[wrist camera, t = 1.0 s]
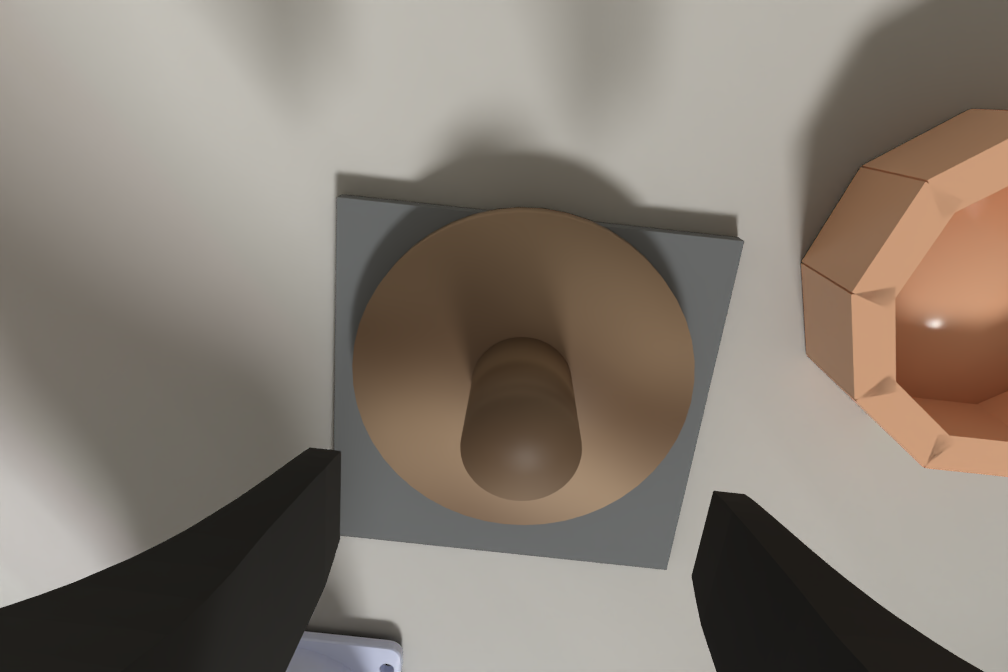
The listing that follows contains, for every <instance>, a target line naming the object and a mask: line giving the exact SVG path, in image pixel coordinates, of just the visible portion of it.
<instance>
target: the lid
mask: <svg viewBox="0 0 1008 672" xmlns="http://www.w3.org/2000/svg"><path fill="white" fill-rule="evenodd" d="M694 368H695V360H694V353H693V345H692V339H691V336H690V332H689V329H688V325H687V322H686V319H685V317H684V314H683V312H682V310H681V308H680V306H679V303H678V301H677V299H676V298H675V296H674V294H673V293H672V291H671V290H670V288H669V287H668V285H667V284H666V282H665V281H664V279H663V278H662V276H661V275H660V274H659V272H658V271H657V270H656V269H655V268H654V267H653V265H652V264H651V263H650V262H649V261H648V260H647V258H646V257H645V256H644V255H643V254H641V253H640V252H639V251H638V250H637V249H636V248H634V247H633V246H632V245H631V244H630V243H629V242H628V241H626V240H624V239H623V238H621V237H620V236H618V235H617V234H615V233H614V232H612V231H611V230H609V229H607V228H605V227H603V226H601V225H599V224H597V223H594V222H592V221H590V220H588V219H585V218H582V217H579V216H576V215H573V214H569V213H566V212H561V211H555V210H550V209H544V208H526V207H516V208H504V209H495V210H490V211H486V212H481V213H477V214H472V215H470V216H467V217H464V218H462V219H459V220H456V221H453V222H451V223H449V224H447V225H445V226H443V227H441V228H439V229H438V230H436V231H434V232H432V233H430V234H429V235H428V236H426V237H425V238H423V239H422V240H421V241H419V242H418V243H416V244H415V245H414V246H412V247H411V248H410V249H409V250H408V251H407V252H406V253H405V254H404V255H403V256H402V257H401V258H400V259H399V260H398V261H397V262H396V263H395V264H394V266H393V267H392V268H391V270H390V271H389V272H388V273H387V275H386V276H385V277H384V278H383V280H382V281H381V282H380V284H379V285H378V287H377V288H376V290H375V292H374V293H373V295H372V297H371V299H370V300H369V302H368V304H367V306H366V308H365V311H364V313H363V316H362V318H361V321H360V323H359V327H358V331H357V335H356V339H355V343H354V351H353V362H352V371H353V387H354V392H355V397H356V402H357V406H358V409H359V412H360V415H361V418H362V421H363V424H364V426H365V428H366V430H367V432H368V434H369V436H370V438H371V440H372V442H373V444H374V445H375V446H376V448H377V449H378V451H379V452H380V454H381V455H382V457H383V458H384V460H385V461H386V462H387V463H388V464H389V465H390V466H391V468H392V469H393V470H394V471H395V472H396V473H397V474H398V475H399V476H400V477H401V478H402V479H403V480H405V481H406V482H407V483H408V484H409V485H410V486H411V487H413V488H414V489H416V490H417V491H418V492H420V493H421V494H423V495H424V496H425V497H427V498H428V499H430V500H432V501H434V502H436V503H438V504H440V505H441V506H443V507H445V508H447V509H450V510H452V511H455V512H457V513H460V514H462V515H465V516H469V517H472V518H476V519H479V520H483V521H488V522H494V523H500V524H511V525H537V524H548V523H554V522H560V521H566V520H569V519H573V518H576V517H580V516H583V515H586V514H589V513H591V512H594V511H596V510H598V509H601V508H603V507H605V506H607V505H609V504H611V503H612V502H614V501H616V500H618V499H620V498H621V497H623V496H624V495H626V494H627V493H628V492H630V491H631V490H633V489H634V488H635V487H637V486H638V485H639V484H640V483H641V482H642V481H644V480H645V479H646V478H647V477H648V476H649V475H650V474H651V473H652V472H653V471H654V470H655V469H656V468H657V466H658V465H659V464H660V463H661V462H662V460H663V459H664V458H665V457H666V455H667V454H668V452H669V451H670V449H671V448H672V446H673V445H674V443H675V441H676V440H677V438H678V436H679V433H680V431H681V429H682V427H683V425H684V423H685V420H686V417H687V414H688V410H689V407H690V404H691V400H692V393H693V387H694Z"/></svg>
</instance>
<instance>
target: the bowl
mask: <svg viewBox="0 0 1008 672" xmlns="http://www.w3.org/2000/svg"><path fill="white" fill-rule="evenodd" d="M862 166H863V168H862V167H860V169H859V170H858V172H857V173H856V175H855V177H854V178H853V180H852V181H851V183H850V185H849V186H848V188H847V189H846V191H845V193H844V194H843V196H842V197H841V199H840V201H839V202H838V204H837V205H836V207H835V209H834V210H833V212H832V213H831V215H830V217H829V218H828V220H827V221H826V223H825V225H824V226H823V228H822V229H821V231H820V233H819V234H818V236H817V237H816V239H815V241H814V242H813V244H812V245H811V247H810V249H809V250H808V252H807V253H806V255H805V257H804V258H803V260H802V262H803V263H801V272H802V289H803V305H804V322H805V339H806V354H807V355H808V357H809V358H810V359H811V360H812V361H813V362H814V363H815V364H816V365H817V366H818V367H819V368H820V369H821V370H822V371H823V372H824V373H825V374H826V375H827V376H828V377H829V378H830V379H831V380H832V381H833V382H835V383H836V384H837V385H838V386H839V387H840V388H841V389H842V390H843V391H844V392H845V393H846V394H847V395H848V396H849V397H850V398H851V399H852V400H853V401H854V402H855V403H856V404H857V405H858V406H859V407H860V408H861V409H862V410H863V411H864V412H865V413H866V414H868V415H869V416H870V417H871V418H872V419H873V420H874V421H875V422H876V423H877V424H878V425H879V426H880V427H881V428H882V429H883V430H884V431H885V432H887V433H888V434H889V435H890V436H891V437H892V438H893V439H894V440H895V441H896V442H897V443H898V444H899V445H900V446H901V447H902V448H903V449H904V450H906V451H907V452H908V453H909V454H910V455H911V456H912V457H913V458H914V459H915V460H916V461H917V462H918V463H919V464H920V465H921V466H922V467H924V468H929V469H939V470H948V471H957V472H967V473H976V474H986V475H995V476H1004V477H1008V110H991V109H969V110H967V111H965V112H963V113H961V114H959V115H957V116H955V117H953V118H952V119H950V120H948V121H946V122H944V123H942V124H940V125H938V126H936V127H934V128H933V129H931V130H929V131H927V132H925V133H923V134H921V135H919V136H917V137H915V138H914V139H912V140H910V141H908V142H906V143H904V144H902V145H900V146H898V147H896V148H895V149H893V150H891V151H889V152H887V153H885V154H883V155H881V156H879V157H877V158H876V159H874V160H872V161H870V162H868V163H866V164H864V165H862Z"/></svg>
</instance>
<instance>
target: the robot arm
mask: <svg viewBox="0 0 1008 672" xmlns="http://www.w3.org/2000/svg"><path fill="white" fill-rule="evenodd" d="M340 501H341V451H336V450H327V449H317V448H309V449H307V450H306V451H304V452H303V453H301V454H300V455H298V456H297V457H296V458H294V459H293V460H291V461H290V462H289V463H287V464H286V465H284V466H283V467H282V468H280V469H279V470H278V471H276V472H275V473H273V474H272V475H271V476H269V477H268V478H266V479H265V480H263V481H262V482H261V483H259V484H258V485H256V486H255V487H253V488H252V489H250V490H249V491H248V492H246V493H245V494H243V495H242V496H240V497H239V498H237V499H236V500H234V501H233V502H231V503H229V504H228V505H226V506H225V507H223V508H221V509H220V510H218V511H216V512H215V513H213V514H212V515H210V516H208V517H207V518H205V519H204V520H202V521H200V522H199V523H197V524H196V525H194V526H192V527H190V528H189V529H187V530H185V531H183V532H181V533H180V534H178V535H176V536H174V537H172V538H170V539H169V540H167V541H165V542H163V543H161V544H159V545H157V546H155V547H153V548H151V549H149V550H147V551H145V552H143V553H141V554H139V555H137V556H134V557H132V558H130V559H128V560H125V561H123V562H121V563H118V564H116V565H114V566H111V567H109V568H107V569H104V570H102V571H100V572H97V573H95V574H93V575H90V576H88V577H86V578H83V579H81V580H79V581H76V582H74V583H71V584H68V585H66V586H63V587H60V588H58V589H55V590H52V591H49V592H47V593H44V594H41V595H38V596H35V597H32V598H29V599H26V600H23V601H20V602H18V603H15V604H12V605H9V606H6V607H2V608H0V672H402V663H403V649H402V647H401V646H400V644H398V643H397V642H395V641H391V640H384V639H374V638H364V637H355V636H345V635H336V634H326V633H316V632H307V631H305V629H306V627H307V625H308V622H309V620H310V618H311V616H312V614H313V612H314V609H315V607H316V605H317V603H318V601H319V598H320V596H321V594H322V592H323V589H324V587H325V585H326V582H327V579H328V575H329V572H330V569H331V566H332V563H333V560H334V557H335V553H336V550H337V547H338V543H339V540H340ZM692 581H693V586H694V592H695V597H696V603H697V608H698V612H699V617H700V622H701V626H702V629H703V632H704V635H705V639H706V642H707V645H708V648H709V651H710V653H711V656H712V659H713V662H714V665H715V668H716V671H717V672H983V671H982V670H980V669H978V668H977V667H975V666H973V665H971V664H970V663H968V662H966V661H965V660H963V659H961V658H959V657H958V656H956V655H954V654H953V653H951V652H950V651H948V650H946V649H945V648H943V647H942V646H940V645H938V644H937V643H935V642H934V641H932V640H931V639H929V638H928V637H926V636H925V635H923V634H922V633H920V632H919V631H917V630H916V629H914V628H913V627H911V626H910V625H908V624H907V623H905V622H904V621H902V620H901V619H899V618H898V617H896V616H895V615H894V614H892V613H891V612H889V611H888V610H887V609H885V608H884V607H882V606H881V605H880V604H878V603H877V602H876V601H874V600H873V599H872V598H870V597H869V596H868V595H866V594H865V593H864V592H863V591H861V590H860V589H859V588H857V587H856V586H855V585H853V584H852V583H851V582H850V581H848V580H847V579H846V578H844V577H843V576H842V575H841V574H840V573H838V572H837V571H836V570H835V569H833V568H832V567H831V566H830V565H828V564H827V563H826V562H825V561H824V560H822V559H821V558H820V557H819V556H818V555H817V554H815V553H814V552H813V551H812V550H811V549H809V548H808V547H807V546H806V545H805V544H804V543H802V542H801V541H800V540H799V539H798V538H797V537H796V536H794V535H793V534H792V533H791V532H790V531H789V530H787V529H786V528H785V527H784V526H783V525H782V524H781V523H779V522H778V521H777V520H776V519H775V518H774V517H773V516H771V515H770V514H769V513H768V512H767V511H766V510H764V509H763V508H762V507H761V506H760V505H758V504H757V503H756V502H755V501H753V500H752V499H751V498H749V497H748V496H747V495H745V494H738V493H728V492H719V491H713V495H712V499H711V503H710V506H709V510H708V514H707V518H706V522H705V526H704V530H703V534H702V538H701V542H700V545H699V549H698V553H697V557H696V561H695V565H694V569H693V573H692ZM385 664H390V665H391V666H387V665H385Z"/></svg>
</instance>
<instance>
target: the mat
mask: <svg viewBox="0 0 1008 672" xmlns="http://www.w3.org/2000/svg"><path fill="white" fill-rule="evenodd" d="M486 211H490V210H481V209H472V208H462V207H453V206H444V205H435V204H425V203H416V202H407V201H398V200H388V199H379V198H370V197H361V196H352V195H340V196H338V197H337V224H336V314H335V404H334V450H336V451H341V501H340V536H349V537H359V538H368V539H378V540H387V541H397V542H406V543H416V544H425V545H435V546H444V547H454V548H463V549H473V550H482V551H492V552H501V553H511V554H520V555H530V556H539V557H549V558H558V559H568V560H577V561H587V562H596V563H606V564H615V565H625V566H634V567H644V568H653V569H663V570H667V565H668V561H669V557H670V553H671V548H672V544H673V540H674V536H675V531H676V527H677V523H678V519H679V515H680V510H681V506H682V502H683V498H684V493H685V489H686V485H687V481H688V476H689V472H690V468H691V464H692V460H693V455H694V451H695V447H696V443H697V438H698V434H699V430H700V426H701V421H702V417H703V413H704V409H705V405H706V400H707V396H708V392H709V388H710V383H711V379H712V375H713V371H714V366H715V362H716V358H717V354H718V350H719V345H720V341H721V337H722V333H723V328H724V324H725V320H726V316H727V311H728V307H729V303H730V299H731V295H732V290H733V286H734V282H735V278H736V273H737V269H738V265H739V261H740V256H741V252H742V248H743V244H744V241H743V240H741V239H740V238H739V237H730V236H721V235H711V234H702V233H693V232H684V231H675V230H665V229H656V228H647V227H638V226H628V225H619V224H610V223H601V222H594V223H597V224H599V225H601V226H603V227H605V228H607V229H609V230H611V231H612V232H614V233H615V234H617V235H618V236H620V237H621V238H623V239H624V240H626V241H628V242H629V243H630V244H631V245H632V246H633V247H634V248H636V249H637V250H638V251H639V252H640V253H641V254H643V255H644V256H645V257H646V258H647V260H648V261H649V262H650V263H651V264H652V265H653V267H654V268H655V269H656V270H657V271H658V272H659V274H660V275H661V276H662V278H663V279H664V281H665V282H666V284H667V285H668V287H669V288H670V290H671V291H672V293H673V294H674V296H675V298H676V299H677V301H678V303H679V306H680V308H681V310H682V312H683V314H684V317H685V319H686V322H687V325H688V329H689V332H690V336H691V339H692V345H693V353H694V360H695V368H694V387H693V393H692V400H691V404H690V407H689V410H688V414H687V417H686V420H685V423H684V425H683V427H682V429H681V431H680V433H679V436H678V438H677V440H676V441H675V443H674V445H673V446H672V448H671V449H670V451H669V452H668V454H667V455H666V457H665V458H664V459H663V460H662V462H661V463H660V464H659V465H658V466H657V468H656V469H655V470H654V471H653V472H652V473H651V474H650V475H649V476H648V477H647V478H646V479H645V480H644V481H642V482H641V483H640V484H639V485H638V486H637V487H635V488H634V489H633V490H631V491H630V492H628V493H627V494H626V495H624V496H623V497H621V498H620V499H618V500H616V501H614V502H612V503H611V504H609V505H607V506H605V507H603V508H601V509H598V510H596V511H594V512H591V513H589V514H586V515H583V516H580V517H576V518H573V519H569V520H566V521H560V522H554V523H548V524H537V525H511V524H500V523H494V522H488V521H483V520H479V519H476V518H472V517H469V516H465V515H462V514H460V513H457V512H455V511H452V510H450V509H447V508H445V507H443V506H441V505H440V504H438V503H436V502H434V501H432V500H430V499H428V498H427V497H425V496H424V495H423V494H421V493H420V492H418V491H417V490H416V489H414V488H413V487H411V486H410V485H409V484H408V483H407V482H406V481H405V480H403V479H402V478H401V477H400V476H399V475H398V474H397V473H396V472H395V471H394V470H393V469H392V468H391V466H390V465H389V464H388V463H387V462H386V461H385V460H384V458H383V457H382V455H381V454H380V452H379V451H378V449H377V448H376V446H375V445H374V444H373V442H372V440H371V438H370V436H369V434H368V432H367V430H366V428H365V426H364V424H363V421H362V418H361V415H360V412H359V409H358V406H357V402H356V397H355V392H354V387H353V371H352V362H353V351H354V343H355V339H356V335H357V331H358V327H359V323H360V321H361V318H362V316H363V313H364V311H365V308H366V306H367V304H368V302H369V300H370V299H371V297H372V295H373V293H374V292H375V290H376V288H377V287H378V285H379V284H380V282H381V281H382V280H383V278H384V277H385V276H386V275H387V273H388V272H389V271H390V270H391V268H392V267H393V266H394V264H395V263H396V262H397V261H398V260H399V259H400V258H401V257H402V256H403V255H404V254H405V253H406V252H407V251H408V250H409V249H410V248H411V247H412V246H414V245H415V244H416V243H418V242H419V241H421V240H422V239H423V238H425V237H426V236H428V235H429V234H430V233H432V232H434V231H436V230H438V229H439V228H441V227H443V226H445V225H447V224H449V223H451V222H453V221H456V220H459V219H462V218H464V217H467V216H470V215H472V214H477V213H481V212H486Z"/></svg>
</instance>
